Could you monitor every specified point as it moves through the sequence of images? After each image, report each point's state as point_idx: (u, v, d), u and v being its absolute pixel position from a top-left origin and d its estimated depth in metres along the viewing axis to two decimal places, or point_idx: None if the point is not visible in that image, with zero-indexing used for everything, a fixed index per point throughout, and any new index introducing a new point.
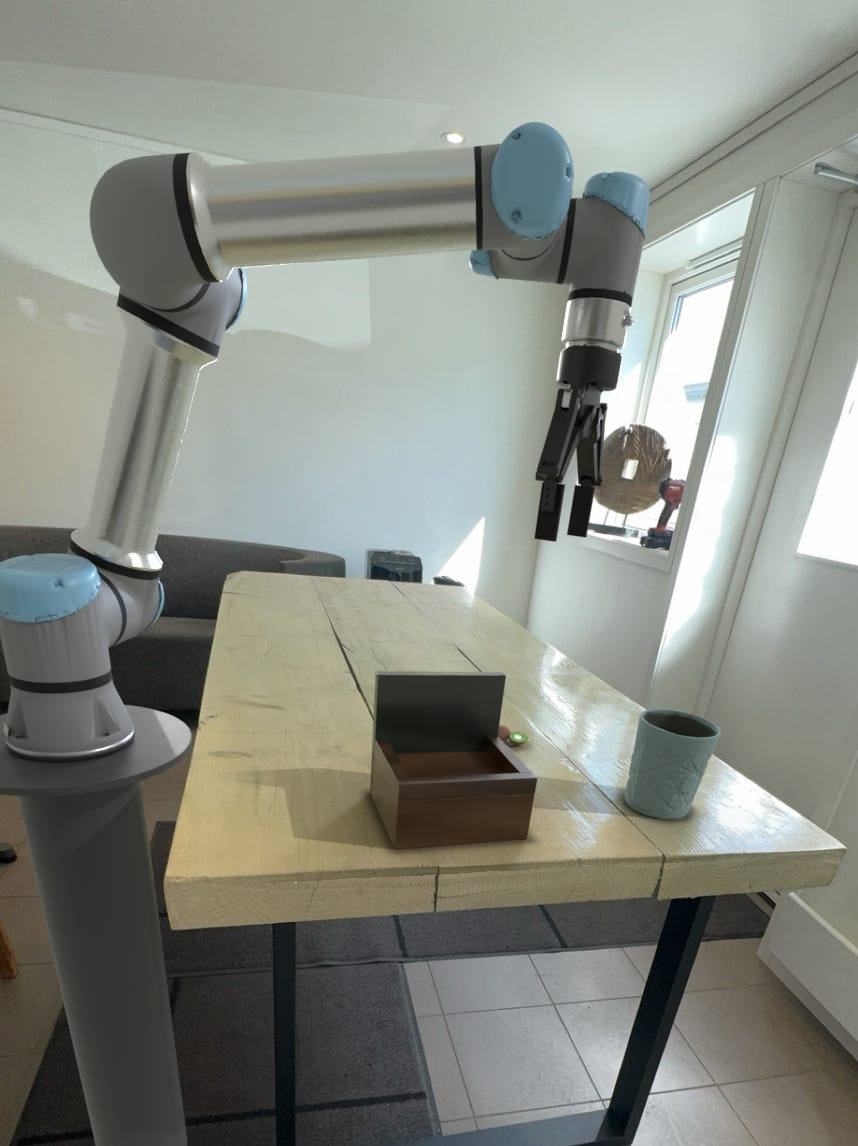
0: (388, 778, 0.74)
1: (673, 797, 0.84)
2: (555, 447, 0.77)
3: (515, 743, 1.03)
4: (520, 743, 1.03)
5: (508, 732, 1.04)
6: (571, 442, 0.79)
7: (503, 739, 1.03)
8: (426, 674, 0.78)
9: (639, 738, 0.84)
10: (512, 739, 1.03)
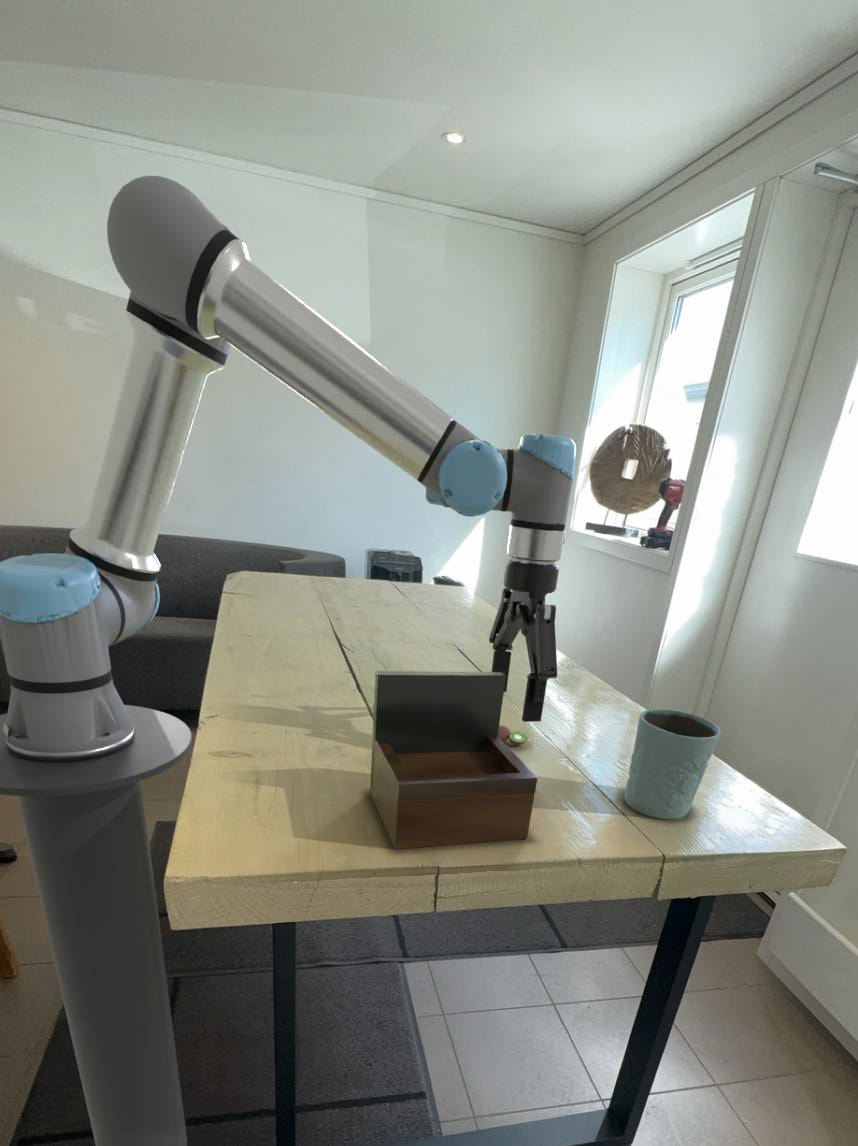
0: (388, 778, 0.74)
1: (673, 797, 0.84)
2: (550, 655, 0.90)
3: (515, 743, 1.03)
4: (520, 743, 1.03)
5: (508, 732, 1.04)
6: None
7: (503, 739, 1.03)
8: (426, 674, 0.78)
9: (639, 738, 0.84)
10: (512, 739, 1.03)
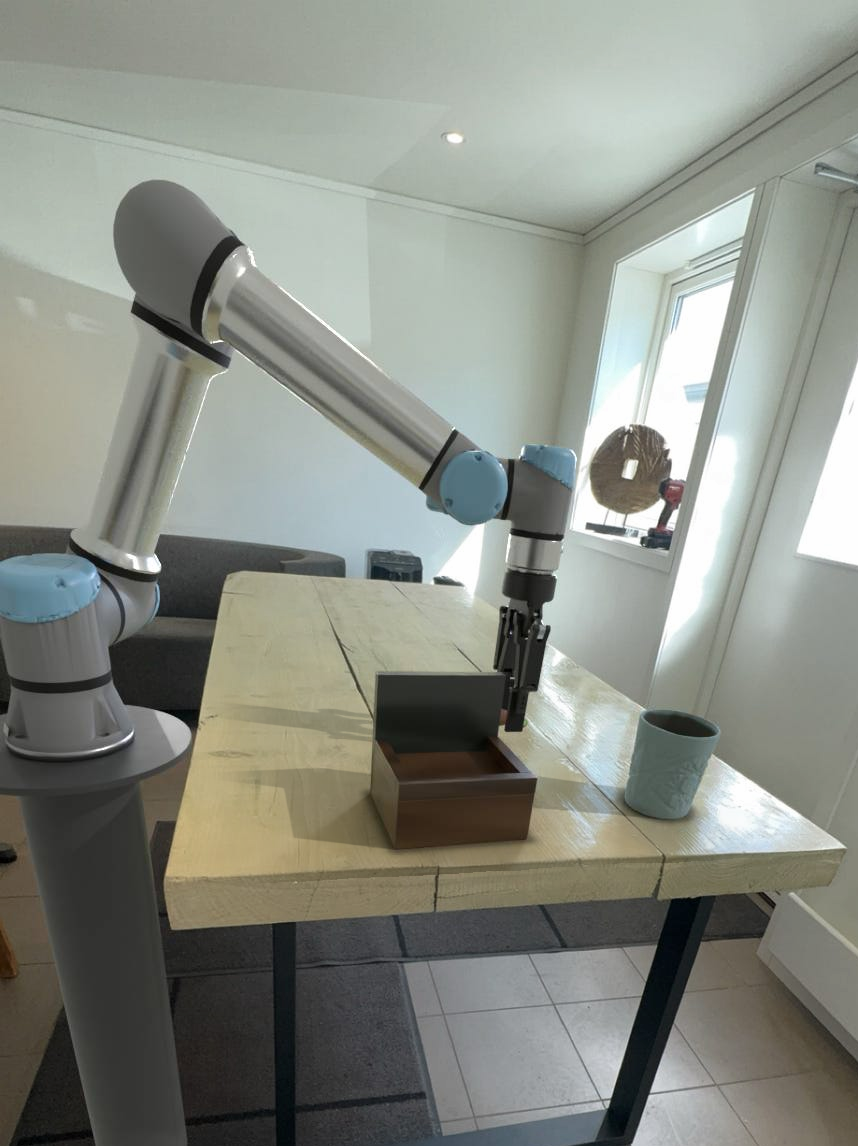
0: (388, 778, 0.74)
1: (673, 797, 0.84)
2: (534, 672, 0.94)
3: None
4: None
5: None
6: None
7: (503, 723, 1.02)
8: (426, 674, 0.78)
9: (639, 738, 0.84)
10: None
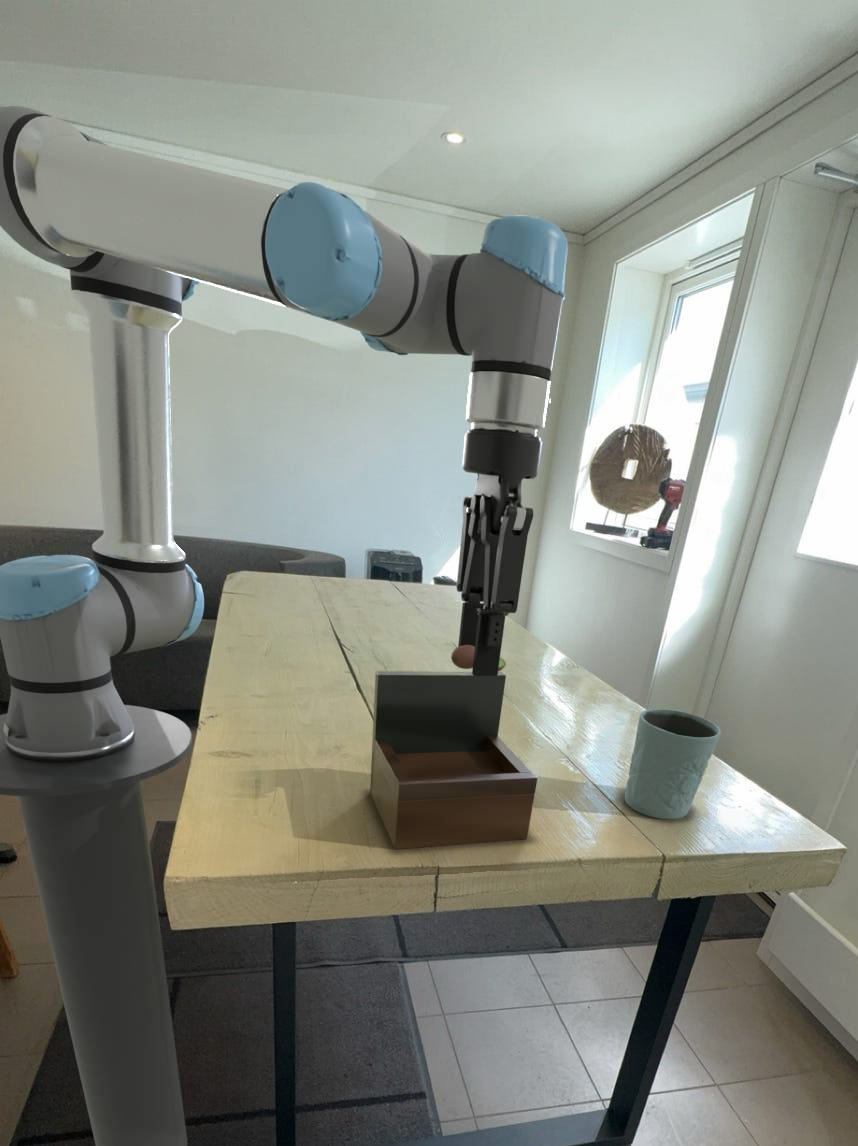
0: (388, 778, 0.74)
1: (673, 797, 0.84)
2: (512, 583, 0.64)
3: None
4: None
5: None
6: None
7: (471, 664, 0.73)
8: (426, 674, 0.78)
9: (639, 738, 0.84)
10: None
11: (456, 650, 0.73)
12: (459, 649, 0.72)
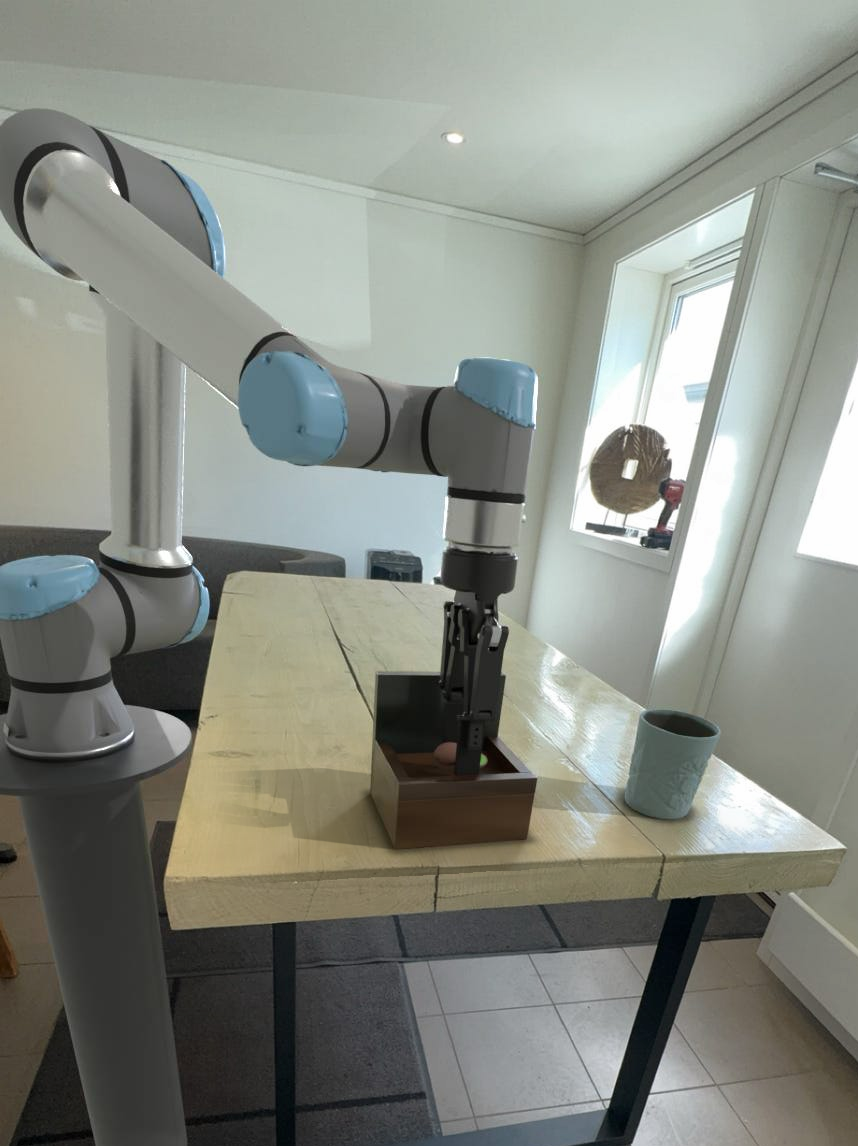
0: (388, 778, 0.74)
1: (673, 797, 0.84)
2: (489, 694, 0.66)
3: None
4: None
5: None
6: None
7: (453, 762, 0.74)
8: (426, 674, 0.78)
9: (639, 738, 0.84)
10: None
11: (438, 748, 0.74)
12: (441, 748, 0.74)
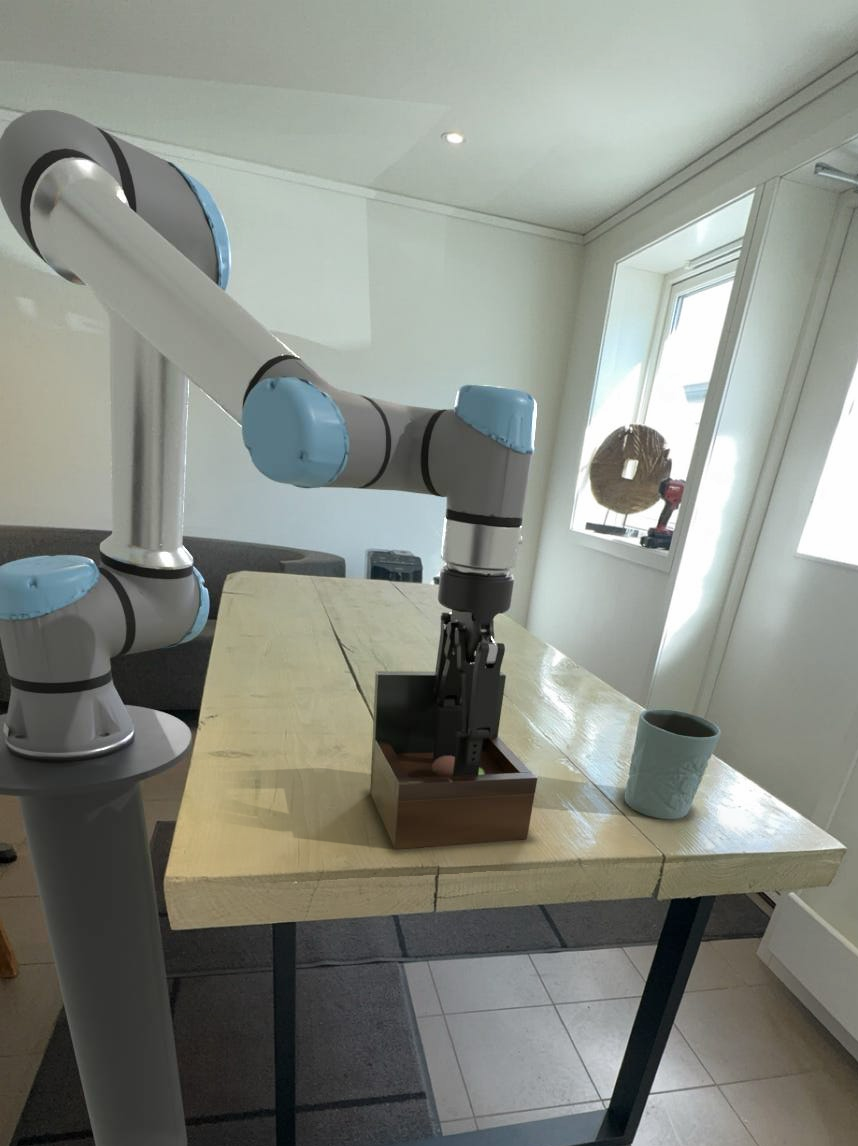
0: (388, 778, 0.74)
1: (673, 797, 0.84)
2: (487, 711, 0.67)
3: None
4: None
5: None
6: None
7: (451, 775, 0.75)
8: (426, 674, 0.78)
9: (639, 738, 0.84)
10: None
11: (436, 762, 0.75)
12: (439, 761, 0.75)
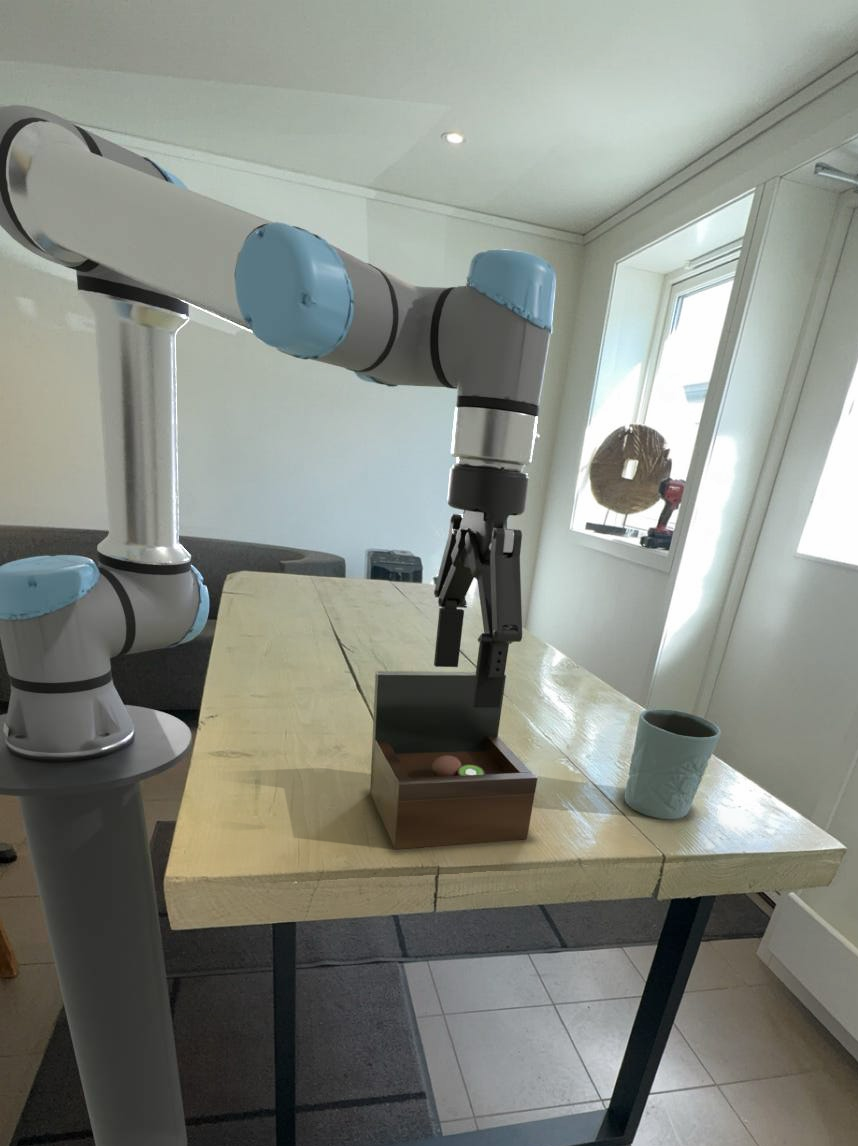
0: (388, 778, 0.74)
1: (673, 797, 0.84)
2: (511, 606, 0.59)
3: None
4: None
5: (457, 765, 0.75)
6: None
7: (450, 775, 0.75)
8: (426, 674, 0.78)
9: (639, 738, 0.84)
10: (462, 775, 0.74)
11: (436, 762, 0.75)
12: (439, 761, 0.75)
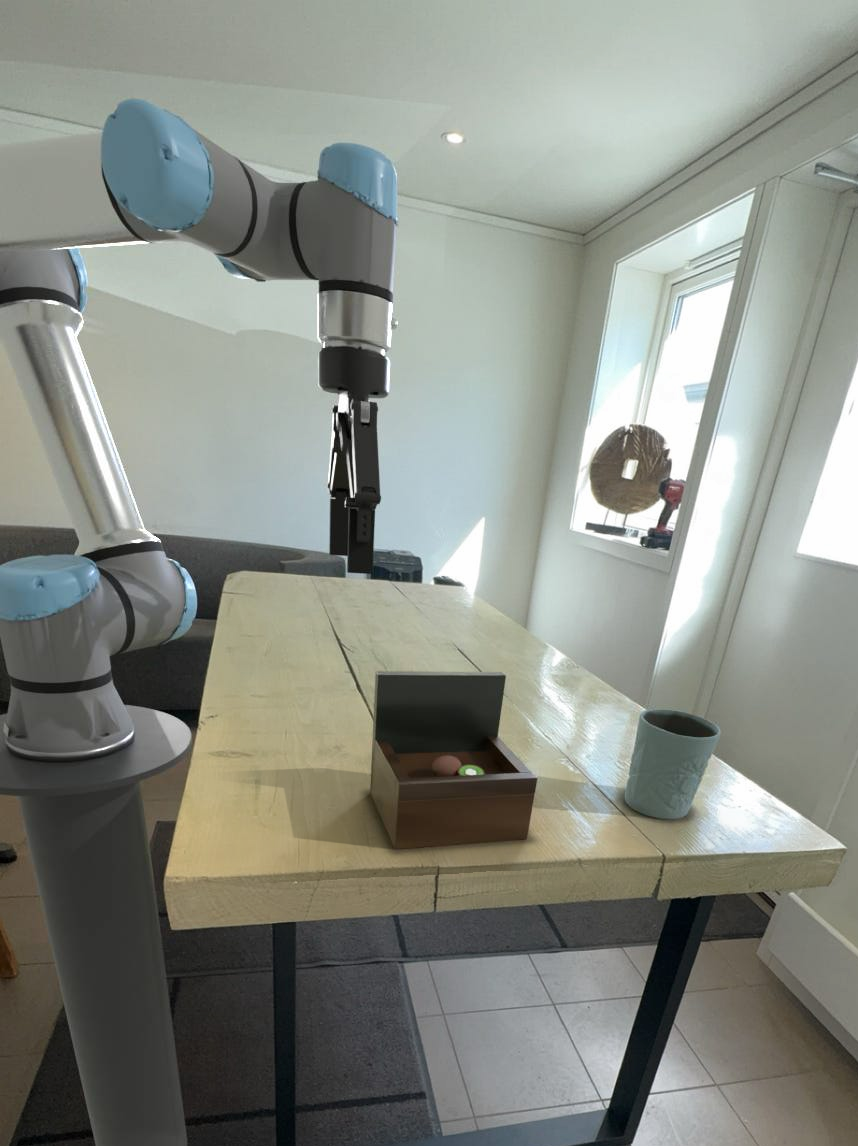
0: (388, 778, 0.74)
1: (673, 797, 0.84)
2: (370, 470, 0.66)
3: None
4: None
5: (457, 765, 0.75)
6: None
7: (450, 775, 0.75)
8: (426, 674, 0.78)
9: (639, 738, 0.84)
10: (462, 775, 0.74)
11: (436, 762, 0.75)
12: (439, 761, 0.75)
